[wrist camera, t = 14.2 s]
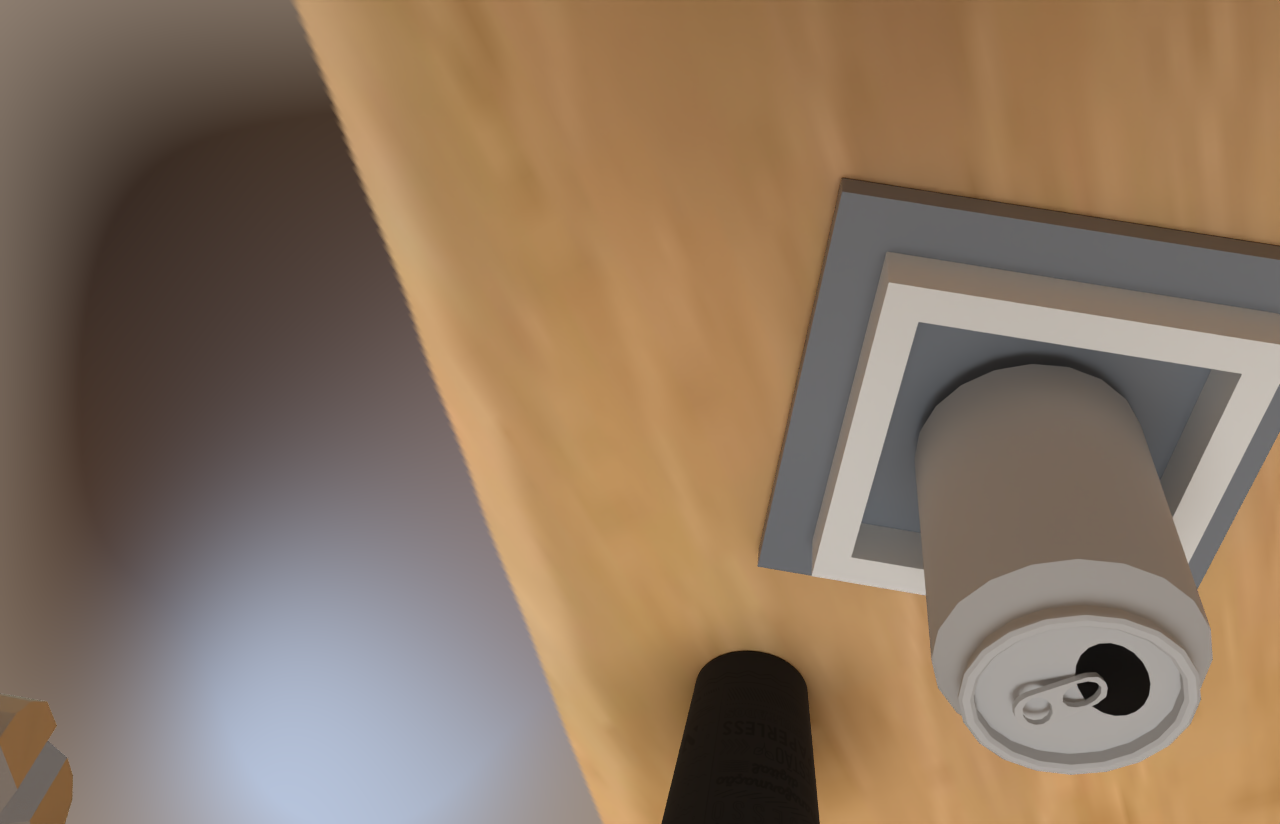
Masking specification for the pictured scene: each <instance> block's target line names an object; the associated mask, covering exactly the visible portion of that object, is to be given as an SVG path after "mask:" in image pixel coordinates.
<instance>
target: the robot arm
mask: <svg viewBox="0 0 1280 824" xmlns="http://www.w3.org/2000/svg"><path fill="white" fill-rule="evenodd" d="M56 726H57V725H56V723H55V720H54V718H53V715H52V713H51V710H50V708H49V705H48V703H47V702H46V701H41V700H35V699H29V698H24V697H18V696H12V695H6V694H1V693H0V824H65V822H66V818H67V815H68V812H69V808H70V805H71V802H72V788H73V787H72V786H73V775H72V771H71V768H70V765H69V762H68V759H67V757H66V756H65V755H64V754H62V753H61V752H60V751H59V750H58V749H57V748H55V747H54V746H53V745H52V744H51V743H50V742H49V741H48V739H49V737H50V736H51V734H52V733H53V731H54V729H55V728H56Z"/></svg>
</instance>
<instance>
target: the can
mask: <svg viewBox="0 0 1280 824" xmlns="http://www.w3.org/2000/svg"><path fill="white" fill-rule="evenodd" d="M914 460H915V472H916V484H917V496H918V507H919V519H920V531H921V542H922V554H923V566H924V578H925V589H926V601H927V613H928V624H929V636H930V648H931V660H932V664H933V668H934V672H935V677H936V681H937V685H938V688H939V690H940V691H941V692H942V694H943V695H944V696H945V698H946V699H947V700H948V702H949V703H950V704H951V706H952V707H953V708H954V710H955V711H956V712H957V713H958V714H960V715H961V716H962V718H963V722H964V723H965V725H966V726H967V727H968V729H969V730H970V731H971V733H972V734H973V735H974V737H975V738H976V739H977V741H978V742H979V743H980V744H982V745H983V746H985V747H986V748H988V749H989V750H991V751H992V752H994V753H995V754H996V755H998V756H999V757H1001V758H1002V759H1004V760H1007V761H1010V762H1013V763H1016V764H1019V765H1022V766H1024V767H1027V768H1030V769H1033V770H1036V771H1044V772H1053V773H1061V774H1070V775H1072V774H1085V773H1097V772H1107V771H1110V770H1114V769H1117V768H1121V767H1124V766H1128V765H1131V764H1135V763H1138V762H1140V761H1142V760H1144V759H1146V758H1148V757H1149V756H1151V755H1153V754H1155V753H1157V752H1158V751H1160V750H1162V749H1164V748H1165V747H1167V746H1169V745H1170V744H1171V743H1172V742H1173V741H1174V740H1175V739H1176V738H1177V737H1178V736H1179V735H1180V734H1181V733H1182V732H1183V731H1184V730H1185V729H1186V728H1187V727H1188V726H1189V725H1190V724H1191V721H1192V719H1193V717H1194V714H1195V712H1196V710H1197V707H1198V705H1199V703H1200V700H1201V695H1200V688H1201V686H1202V683H1203V681H1204V679H1205V676H1206V674H1207V672H1208V669H1209V667H1210V664H1211V662H1212V660H1213V659H1212V643H1211V629H1210V626H1209V623H1208V620H1207V617H1206V614H1205V611H1204V608H1203V605H1202V602H1201V600H1200V597H1199V594H1198V591H1197V588H1196V585H1195V582H1194V579H1193V576H1192V573H1191V570H1190V567H1189V565H1188V562H1187V559H1186V556H1185V553H1184V550H1183V547H1182V544H1181V541H1180V538H1179V535H1178V533H1177V530H1176V527H1175V524H1174V521H1173V518H1172V515H1171V512H1170V509H1169V506H1168V503H1167V500H1166V498H1165V495H1164V492H1163V489H1162V486H1161V483H1160V480H1159V477H1158V474H1157V471H1156V468H1155V466H1154V463H1153V460H1152V457H1151V454H1150V451H1149V448H1148V445H1147V442H1146V439H1145V436H1144V433H1143V431H1142V428H1141V425H1140V423H1139V421H1138V419H1137V418H1136V416H1135V414H1134V412H1133V411H1132V409H1131V407H1130V405H1129V403H1128V402H1127V400H1126V399H1125V398H1124V397H1123V396H1121V395H1120V394H1119V393H1118V392H1116V391H1115V390H1114V389H1113V388H1111V387H1110V386H1109V385H1108V384H1107V383H1105V382H1104V381H1103V380H1102V379H1099V378H1096V377H1094V376H1091V375H1088V374H1086V373H1083V372H1080V371H1078V370H1075V369H1073V368H1070V367H1062V366H1050V365H1039V364H1028V365H1022V366H1016V367H1010V368H1005V369H999V370H994V371H992V372H989V373H987V374H985V375H983V376H980V377H978V378H976V379H974V380H971V381H969V382H967V383H965V384H963V385H961V386H960V387H958V388H957V389H956V390H955V391H954V392H952V393H951V394H950V395H949V396H948V397H946V398H945V399H944V400H943V401H942V402H940V403H939V404H938V405H937V406H936V407H935V408H934V410H933V412H932V413H931V415H930V416H929V418H928V420H927V421H926V423H925V424H924V426H923V428H922V429H921V431H920V433H919V438H918V443H917V448H916V454H915V459H914Z"/></svg>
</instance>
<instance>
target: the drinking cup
mask: <svg viewBox="0 0 1280 824" xmlns="http://www.w3.org/2000/svg"><path fill="white" fill-rule="evenodd" d="M662 824H820V822H819V811H818V800H817V789H816V778H815V768H814V757H813V746H812V735H811V724H810V714H809V703H808V692H807V687H806V684H805V681H804V679H803V678H802V676H801V675H800V673H799V672H798V671H797V670H796V669H795V668H794V667H793V666H791V665H790V664H789V663H787V662H785V661H784V660H782V659H780V658H777V657H775V656H772V655H769V654H765V653H760V652H751V651H743V652H733V653H729V654H725V655H722V656H720V657H718V658H716V659H714V660H712V661H711V662H709V663H708V664H707V665H706V666H705V667H704V668H703V669H702V670H701V672H700V673H699V675H698V677H697V680H696V684H695V688H694V693H693V697H692V701H691V705H690V709H689V713H688V717H687V721H686V725H685V730H684V734H683V738H682V742H681V746H680V750H679V754H678V758H677V762H676V766H675V771H674V775H673V779H672V783H671V787H670V791H669V795H668V799H667V803H666V808H665V812H664V816H663V820H662Z"/></svg>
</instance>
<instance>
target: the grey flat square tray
mask: <svg viewBox="0 0 1280 824" xmlns="http://www.w3.org/2000/svg"><path fill="white" fill-rule="evenodd" d="M1028 364H1039V365H1050V366H1062V367H1070V368H1073V369H1075V370H1078V371H1080V372H1083V373H1086V374H1088V375H1091V376H1094V377H1096V378H1099V379H1102V380H1103V381H1104V382H1105V383H1107V384H1108V385H1109V386H1110V387H1111V388H1113V389H1114V390H1115V391H1116V392H1118V393H1119V394H1120V395H1121V396H1123V397H1124V398H1125V399H1126V400H1127V402H1128V403H1129V405H1130V407H1131V409H1132V411H1133V412H1134V414H1135V416H1136V418H1137V419H1138V421H1139V423H1140V425H1141V428H1142V431H1143V433H1144V436H1145V439H1146V442H1147V445H1148V448H1149V451H1150V454H1151V457H1152V460H1153V463H1154V466H1155V468H1156V471H1157V474H1158V477H1159V480H1160V483H1161V486H1162V489H1163V492H1164V495H1165V498H1166V500H1167V503H1168V506H1169V509H1170V512H1171V515H1172V518H1173V521H1174V524H1175V527H1176V530H1177V533H1178V535H1179V538H1180V541H1181V544H1182V547H1183V550H1184V553H1185V556H1186V559H1187V562H1188V565H1189V567H1190V570H1191V573H1192V576H1193V579H1194V582H1195V585H1196V588H1197V589H1198V587H1199V585H1200V583H1201V581H1202V579H1203V577H1204V575H1205V574H1206V572H1207V570H1208V568H1209V566H1210V564H1211V562H1212V560H1213V558H1214V556H1215V554H1216V553H1217V551H1218V549H1219V547H1220V545H1221V543H1222V541H1223V539H1224V537H1225V535H1226V533H1227V531H1228V530H1229V528H1230V526H1231V524H1232V522H1233V520H1234V518H1235V516H1236V514H1237V512H1238V510H1239V509H1240V507H1241V505H1242V503H1243V501H1244V499H1245V497H1246V495H1247V493H1248V491H1249V489H1250V487H1251V486H1252V484H1253V482H1254V480H1255V478H1256V476H1257V474H1258V472H1259V470H1260V468H1261V466H1262V465H1263V463H1264V461H1265V459H1266V457H1267V455H1268V453H1269V451H1270V449H1271V447H1272V445H1273V443H1274V442H1275V440H1276V438H1277V436H1278V434H1279V432H1280V246H1274V245H1268V244H1262V243H1255V242H1249V241H1242V240H1236V239H1230V238H1223V237H1217V236H1210V235H1204V234H1198V233H1191V232H1185V231H1178V230H1172V229H1166V228H1159V227H1153V226H1146V225H1140V224H1134V223H1127V222H1121V221H1114V220H1108V219H1102V218H1095V217H1089V216H1082V215H1076V214H1070V213H1063V212H1057V211H1050V210H1044V209H1038V208H1031V207H1025V206H1018V205H1012V204H1006V203H999V202H993V201H986V200H980V199H974V198H967V197H961V196H954V195H948V194H942V193H935V192H929V191H922V190H916V189H910V188H903V187H897V186H890V185H884V184H878V183H871V182H865V181H858V180H852V179H846V178H842V180H841V185H840V189H839V194H838V198H837V202H836V207H835V211H834V216H833V220H832V225H831V229H830V234H829V238H828V243H827V247H826V252H825V256H824V261H823V265H822V269H821V274H820V278H819V283H818V287H817V292H816V296H815V301H814V305H813V310H812V314H811V319H810V323H809V328H808V332H807V336H806V341H805V345H804V350H803V354H802V359H801V363H800V368H799V372H798V377H797V381H796V386H795V390H794V394H793V399H792V403H791V408H790V412H789V417H788V421H787V426H786V430H785V435H784V439H783V444H782V448H781V453H780V457H779V461H778V466H777V470H776V475H775V479H774V484H773V488H772V493H771V497H770V502H769V506H768V511H767V515H766V520H765V524H764V528H763V533H762V537H761V542H760V546H759V554H758V567H764V568H769V569H775V570H781V571H787V572H793V573H799V574H805V575H811V576H815V577H821V578H827V579H832V580H838V581H844V582H850V583H856V584H862V585H868V586H874V587H880V588H885V589H891V590H897V591H903V592H909V593H915V594H921V595H926V589H925V578H924V566H923V554H922V542H921V531H920V519H919V507H918V496H917V484H916V472H915V460H914V459H915V454H916V448H917V443H918V438H919V433H920V431H921V429H922V428H923V426H924V424H925V423H926V421H927V420H928V418H929V416H930V415H931V413H932V412H933V410H934V408H935V407H936V406H937V405H938V404H939V403H940V402H942V401H943V400H944V399H945V398H946V397H948V396H949V395H950V394H951V393H952V392H954V391H955V390H956V389H957V388H958V387H960V386H961V385H963V384H965V383H967V382H969V381H971V380H974V379H976V378H978V377H980V376H983V375H985V374H987V373H989V372H992V371H994V370H999V369H1005V368H1010V367H1016V366H1022V365H1028Z"/></svg>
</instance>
